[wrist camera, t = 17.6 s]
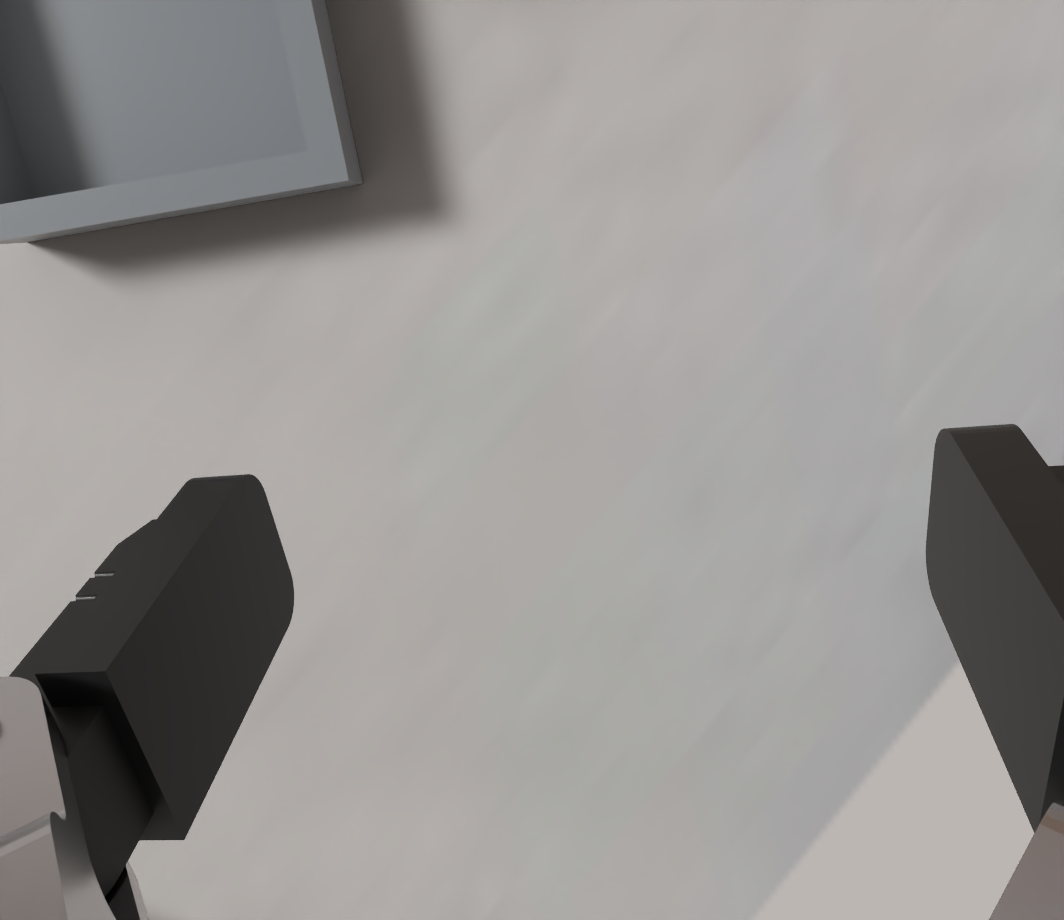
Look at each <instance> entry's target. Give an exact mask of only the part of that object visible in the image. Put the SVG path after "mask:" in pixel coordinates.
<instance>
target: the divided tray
mask: <svg viewBox="0 0 1064 920" xmlns="http://www.w3.org/2000/svg"><path fill="white" fill-rule="evenodd" d="M359 184H363V182H362V177H361V172H360V167H359V162H358V158H357V153H356V148H355V143H354V138H353V133H352V128H351V124H350V119H349V114H348V109H347V104H346V99H345V94H344V90H343V85H342V80H341V75H340V70H339V65H338V60H337V56H336V51H335V46H334V41H333V36H332V31H331V26H330V22H329V17H328V12H327V7H326V2H325V0H0V244H8V243H25V242H32V241H37V240H43V239H49V238H54V237H60V236H66V235H72V234H77V233H83V232H89V231H95V230H100V229H106V228H112V227H118V226H123V225H129V224H135V223H141V222H146V221H152V220H158V219H164V218H169V217H175V216H181V215H187V214H192V213H198V212H204V211H210V210H215V209H221V208H227V207H233V206H238V205H244V204H250V203H256V202H261V201H267V200H273V199H279V198H284V197H290V196H296V195H302V194H307V193H313V192H319V191H325V190H330V189H336V188H342V187H348V186H353V185H359Z"/></svg>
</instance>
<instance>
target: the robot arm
mask: <svg viewBox="0 0 1064 920" xmlns="http://www.w3.org/2000/svg"><path fill="white" fill-rule="evenodd" d="M926 564H927V573H928V580H929V585H930V589H931V593H932V596H933V599H934V602H935V604H936V606H937V609H938V611H939V613H940V616H941V618H942V620H943V623H944V625H945V627H946V630H947V632H948V634H949V636H950V639H951V641H952V643H953V646H954V648H955V650H956V653H957V655H958V657H959V660H960V662H961V664H962V667H963V669H964V671H965V673H966V676H967V678H968V680H969V683H970V685H971V687H972V690H973V692H974V694H975V697H976V699H977V701H978V704H979V706H980V708H981V710H982V713H983V715H984V717H985V720H986V722H987V724H988V727H989V729H990V731H991V734H992V736H993V738H994V741H995V743H996V745H997V747H998V750H999V752H1000V754H1001V757H1002V759H1003V761H1004V763H1005V766H1006V768H1007V771H1008V772H1009V775H1010V778H1011V780H1012V782H1013V784H1014V787H1015V789H1016V791H1017V794H1018V796H1019V798H1020V800H1021V803H1022V805H1023V808H1024V810H1025V812H1026V814H1027V817H1028V819H1029V821H1030V824H1031V826H1032V828H1033V830H1034V835H1033V837H1032V839H1031V841H1030V843H1029V845H1028V847H1027V849H1026V850H1025V853H1024V854H1023V856H1022V858H1021V860H1020V862H1019V864H1018V866H1017V868H1016V870H1015V871H1014V873H1013V875H1012V877H1011V879H1010V881H1009V883H1008V885H1007V887H1006V888H1005V890H1004V893H1003V894H1002V896H1001V898H1000V900H999V902H998V904H997V905H996V907H995V909H994V911H993V913H992V915H991V917H990V919H989V920H1064V466H1048V465H1047V464H1046V463H1045V461H1044V460H1043V459H1042V457H1041V456H1040V455H1039V453H1038V452H1037V451H1036V449H1035V448H1034V447H1033V445H1032V444H1031V443H1030V441H1029V440H1028V439H1027V437H1026V436H1025V434H1024V433H1023V432H1022V430H1021V429H1020V428H1019V427H1018V426H1016V425H1015V424H1006V425H991V426H976V427H961V428H947V429H942V430H941V431H940V432H939V434H938V436H937V439H936V444H935V450H934V461H933V472H932V483H931V495H930V506H929V517H928V528H927V540H926ZM293 606H294V588H293V581H292V576H291V572H290V569H289V566H288V563H287V560H286V557H285V553H284V550H283V547H282V544H281V541H280V538H279V535H278V531H277V528H276V525H275V522H274V519H273V516H272V513H271V509H270V506H269V503H268V500H267V497H266V494H265V491H264V488H263V486H262V485H261V483H260V481H259V480H258V479H257V478H256V477H255V476H253V475H249V474H247V475H232V476H217V477H202V478H193V479H190V480H189V481H187V482H186V483H185V485H184V486H183V487H182V488H181V490H180V491H179V492H178V493H177V495H176V496H175V497H174V498H173V500H172V501H171V502H170V503H169V505H168V506H167V507H166V509H165V510H164V511H163V512H162V514H161V515H160V516H159V517H158V519H155V520H152V521H150V522H149V523H147V524H146V525H145V526H143V527H142V528H140V529H139V530H137V531H136V532H135V533H133V534H132V535H130V536H129V537H128V538H126V539H125V540H123V541H122V542H121V543H119V544H118V545H117V546H116V547H115V548H114V549H113V551H112V552H111V553H110V554H109V556H108V557H107V558H106V559H105V560H104V562H103V563H102V564H101V565H100V566H99V568H98V569H97V570H96V571H95V578H90V579H89V580H88V581H87V582H86V583H85V585H84V586H83V587H82V588H81V590H80V591H79V592H78V593H77V594H76V601H72V602H70V603H69V604H68V605H67V607H66V608H65V609H64V610H63V611H62V613H61V614H60V615H59V616H58V617H57V619H56V620H55V621H54V622H53V623H52V625H51V626H50V627H49V628H48V630H47V631H46V632H45V633H44V634H43V636H42V637H41V638H40V639H39V640H38V642H37V643H36V644H35V645H34V647H33V648H32V649H31V650H30V651H29V653H28V654H27V655H26V656H25V657H24V659H23V660H22V661H21V662H20V664H19V665H18V666H17V667H16V668H15V670H14V671H13V672H12V673H11V674H10V676H9V677H0V920H148V917H147V913H146V909H145V906H144V902H143V899H142V895H141V891H140V888H139V884H138V881H137V878H136V876H135V873H134V871H133V869H132V868H131V866H130V864H129V862H128V860H129V858H130V856H131V854H132V852H133V850H134V849H135V847H136V845H137V843H138V841H139V840H184V839H185V837H186V835H187V833H188V831H189V829H190V827H191V825H192V823H193V821H194V819H195V817H196V815H197V813H198V811H199V809H200V807H201V805H202V803H203V800H204V798H205V796H206V794H207V792H208V790H209V788H210V786H211V784H212V782H213V780H214V778H215V776H216V774H217V772H218V770H219V768H220V766H221V764H222V762H223V760H224V758H225V755H226V753H227V751H228V749H229V747H230V745H231V743H232V741H233V739H234V737H235V735H236V733H237V731H238V729H239V727H240V725H241V723H242V721H243V719H244V717H245V715H246V713H247V711H248V708H249V706H250V704H251V702H252V700H253V698H254V696H255V694H256V692H257V690H258V688H259V686H260V684H261V682H262V680H263V678H264V676H265V674H266V672H267V670H268V668H269V666H270V664H271V661H272V659H273V657H274V655H275V653H276V651H277V649H278V647H279V645H280V643H281V641H282V639H283V637H284V635H285V633H286V631H287V629H288V627H289V624H290V621H291V618H292V613H293Z"/></svg>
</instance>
